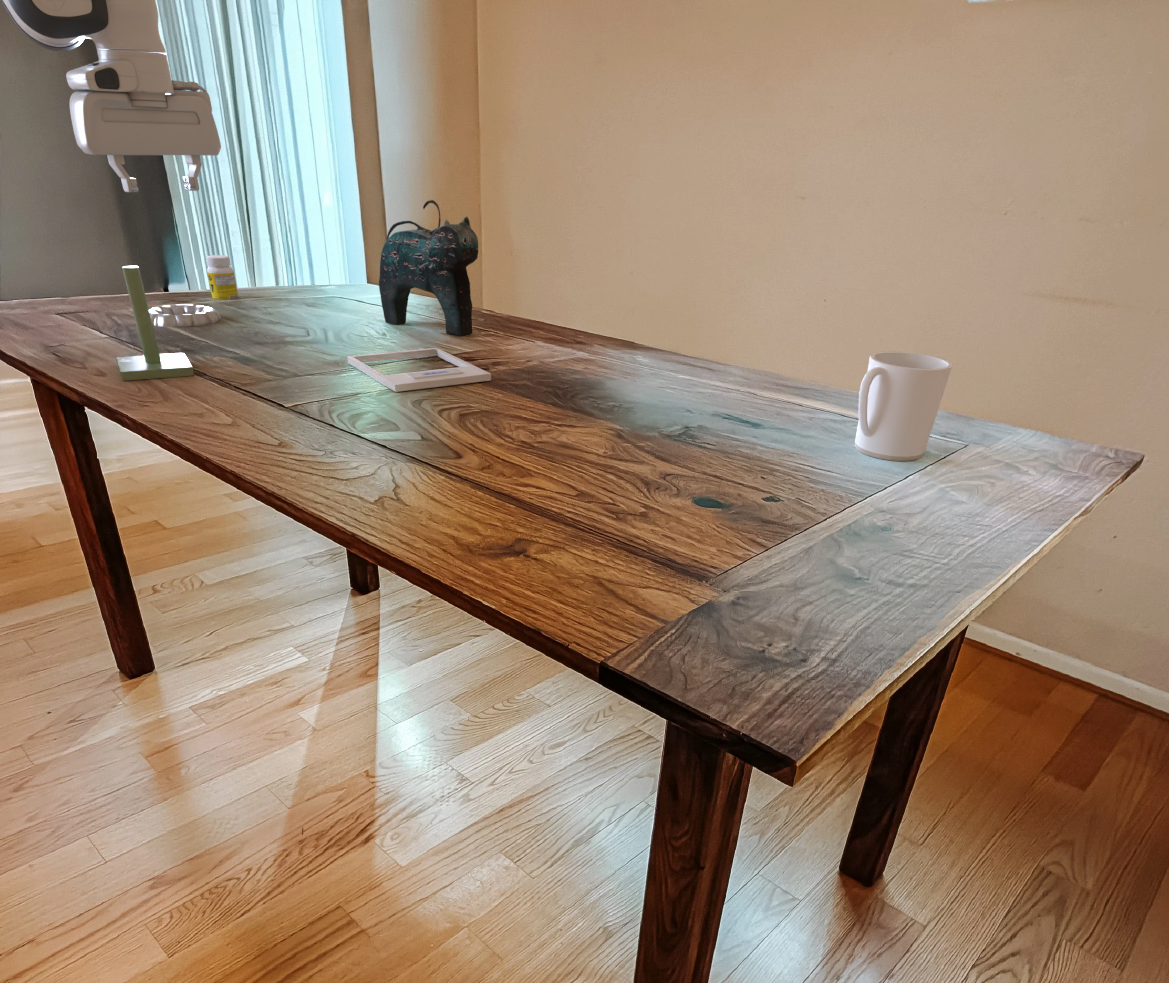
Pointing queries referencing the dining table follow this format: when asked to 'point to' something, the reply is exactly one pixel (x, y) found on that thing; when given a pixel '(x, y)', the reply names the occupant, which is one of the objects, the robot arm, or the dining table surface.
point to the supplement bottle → (221, 277)
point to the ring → (183, 315)
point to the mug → (899, 404)
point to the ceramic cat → (429, 271)
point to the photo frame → (421, 378)
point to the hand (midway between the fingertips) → (162, 191)
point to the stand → (148, 340)
